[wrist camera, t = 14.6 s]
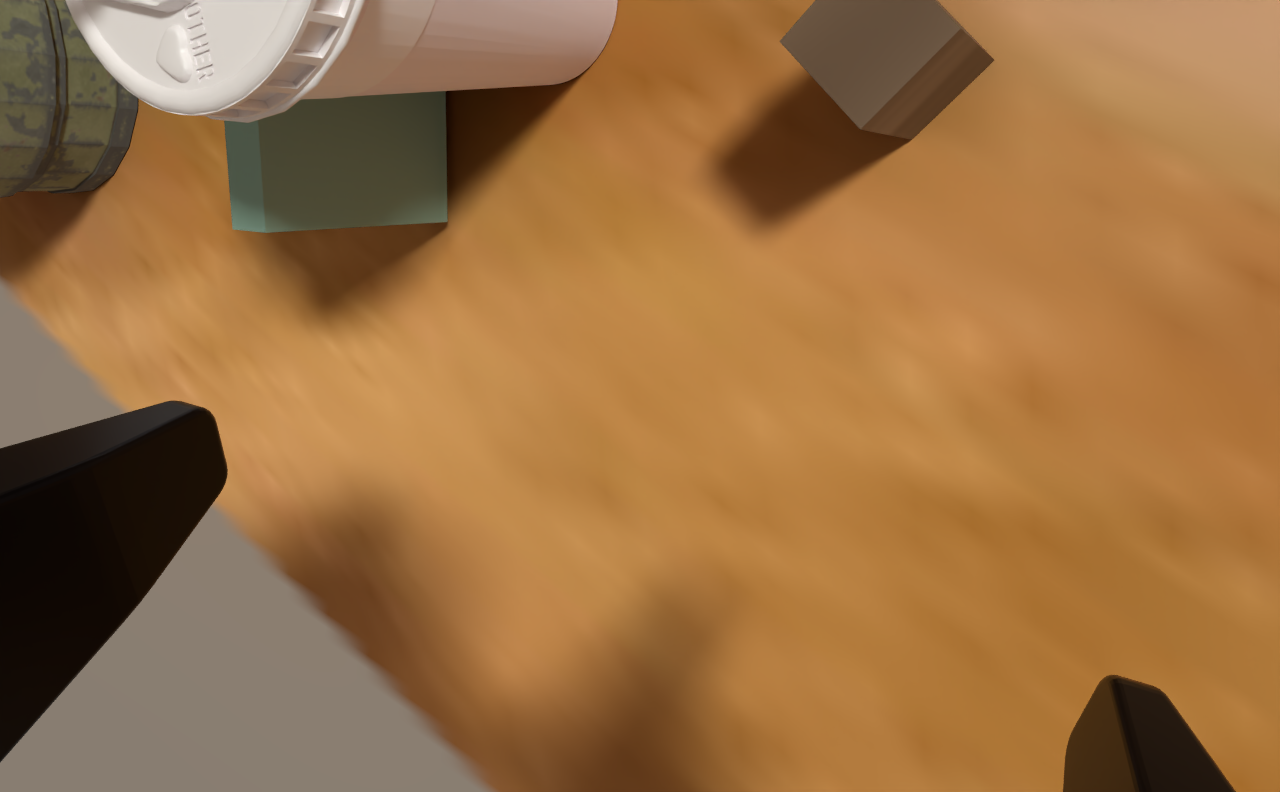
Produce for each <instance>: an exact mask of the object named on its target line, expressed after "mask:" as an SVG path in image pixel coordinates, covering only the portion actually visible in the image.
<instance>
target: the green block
mask: <svg viewBox="0 0 1280 792" xmlns="http://www.w3.org/2000/svg"><path fill="white" fill-rule="evenodd" d="M224 123H225V136H226V149H227V162H228V175H229V188H230V201H231V214H232V227H233V229H235V230H244V231H254V232H264V233H269V232H286V231H303V230H320V229H337V228H354V227H371V226H387V225H404V224H421V223H438V222H448V217H447V153H446V91H436V92H418V93H401V94H384V95H366V96H349V97H342V98H326V99H301V100H299V101H298V102H297V103H296V104H294V105H293V106H292V107H290V108H289V109H288V110H287V111H285V112H282V113H279V114H276V115H273V116H269V117H266V118H263V119H259V120H256V121H253V122H250V123H245V122H235V121H226V120H224Z"/></svg>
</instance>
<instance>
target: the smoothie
mask: <svg viewBox="0 0 1280 792" xmlns="http://www.w3.org/2000/svg"><path fill="white" fill-rule="evenodd" d="M65 1H66V3H67V6H68V8H69V10H70V13H71V15H72V17H73V20H74V22H75V23H76V25H77V27H78V28H79V30H80V32H81V34H82V35H83V37H84V39H85V40H86V42H87V44H88V45H89V47H90V49H91V50H92V52H93V53H94V54H95V56H96V57H97V58H98V59H99V61H100V62H101V63H102V65H103V66H104V67H105V69H106V70H107V71H108V72H109V73H110V74H111V75H112V76H113V77H114V78H115V79H116V80H117V81H118V82H119V83H120V84H121V85H122V86H123V87H124V88H125V89H127V90H128V91H129V92H130V93H132V94H133V95H135V96H136V97H137V98H139V99H140V100H142V101H144V102H146V103H147V104H149V105H151V106H153V107H156V108H158V109H161V110H163V111H166V112H170V113H175V114H180V115H193V116H207V117H209V118H211V119H216V120H226V121H235V122H245V123H250V122H253V121H256V120H259V119H263V118H266V117H269V116H273V115H276V114H279V113H282V112H285V111H287V110H288V109H289V108H290V107H292V106H293V105H294V104H296V103H297V102H298V101H299V100H301V99H326V98H342V97H349V96H366V95H384V94H401V93H418V92H436V91H453V90H471V89H488V88H505V87H523V86H540V85H555V84H560V83H564V82H567V81H569V80H571V79H573V78H575V77H577V76H579V75H580V74H581V73H583V72H584V71H585V70H586V69H588V68H589V67H590V66H591V65H592V64H593V62H594V61H595V60H596V59H597V58H598V56H599V55H600V53H601V52H602V50H603V49H604V47H605V45H606V43H607V41H608V39H609V36H610V34H611V31H612V28H613V25H614V21H615V17H616V11H617V0H65Z"/></svg>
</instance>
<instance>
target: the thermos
mask: <svg viewBox="0 0 1280 792" xmlns="http://www.w3.org/2000/svg"><path fill="white" fill-rule="evenodd" d="M137 110H138V98H137V97H136V96H135V95H133V94H132V93H130V92H129V91H128V90H127V89H125V88H124V87H123V86H122V85H121V84H120V83H119V82H118V81H117V80H116V79H115V78H114V77H113V76H112V75H111V74H110V73H109V72H108V71H107V70H106V69H105V67H104V66H103V65H102V63H101V62H100V61H99V59H98V58H97V57H96V56H95V54H94V53H93V52H92V50H91V49H90V47H89V45H88V44H87V42H86V40H85V39H84V37H83V35H82V34H81V32H80V30H79V28H78V27H77V25H76V23H75V22H74V20H73V17H72V15H71V13H70V10H69V8H68V6H67V3H66V1H65V0H0V197H7V196H13V195H14V194H15V193H16V192H21V191H48V192H51V193H75V192H83V191H91V190H94V189H95V188H97V187H98V186H99V185H101V184H102V183H103V182H104V181H106V180H107V179H108V178H110V177H111V176H112V175H113V174H114V173H115V171H116V169H117V167H118V165H119V164H120V162H121V160H122V158H123V156H124V155H125V153H126V151H127V149H128V148H129V144H130V140H131V135H132V131H133V127H134V123H135V118H136V114H137Z"/></svg>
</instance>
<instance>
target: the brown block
mask: <svg viewBox="0 0 1280 792" xmlns="http://www.w3.org/2000/svg"><path fill="white" fill-rule="evenodd" d="M780 42H781V44H782V45H783V46H784V47H785V48H786V49H787V50H788V51H789V52H790V53H791V54H792V56H793V57H794V58H795V59H796V60H797V61H798V62H799V63H800V64H801V65H802V66H803V68H804V69H805V70H806V71H807V72H808V73H809V74H810V75H811V76H812V77H813V78H814V80H815V81H816V82H817V83H818V84H819V85H820V86H821V87H822V88H823V89H824V90H825V92H826V93H827V94H828V95H829V96H830V97H831V98H832V99H833V100H834V101H835V102H836V104H837V105H838V106H839V107H840V108H841V109H842V110H843V111H844V112H845V113H846V114H847V116H848V117H849V118H850V119H851V120H852V121H853V122H854V123H855V124H856V125H857V126H858V128H859V129H860V130H865V131H870V132H875V133H880V134H885V135H890V136H895V137H900V138H905V139H910V140H912V139H913V138H914V137H915V136H916V135H917V134H918V133H919V132H920V131H921V130H922V129H924V128H925V127H926V126H927V125H928V124H929V123H930V122H931V121H932V120H933V119H934V118H935V117H936V116H937V115H938V114H939V113H940V112H941V111H942V110H943V109H944V108H945V107H946V106H947V105H948V104H949V103H951V102H952V101H953V100H954V99H955V98H956V97H957V96H958V95H959V94H960V93H961V92H962V91H963V90H964V89H965V88H966V87H967V86H968V85H969V84H970V83H971V82H972V81H973V80H974V79H975V78H976V77H978V76H979V75H980V74H981V73H982V72H983V71H984V70H985V69H986V68H987V67H988V66H989V65H990V64H991V63H992V62H993V61H994V59H993V58H992V57H991V56H990V55H989V54H988V53H987V52H986V51H985V50H984V49H983V48H982V47H981V46H980V45H979V44H978V42H977V41H976V40H975V39H974V38H973V37H972V36H971V35H970V34H969V33H968V32H967V31H966V30H965V29H964V28H963V27H962V26H961V25H960V24H959V23H958V22H957V21H956V20H955V19H954V18H953V17H952V16H951V15H950V13H949V12H948V11H947V10H946V9H945V8H944V7H943V6H942V5H941V4H940V3H939V2H938V1H937V0H815V2H814V3H813V4H812V5H811V6H810V7H809V8H808V10H807V11H806V12H805V13H804V14H803V15H802V16H801V17H800V19H799V20H798V21H797V22H796V23H795V24H794V25H793V27H792V28H791V29H790V30H789V31H788V32H787V33H786V35H785V36H784V37H783V38H782V39H781V40H780Z"/></svg>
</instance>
